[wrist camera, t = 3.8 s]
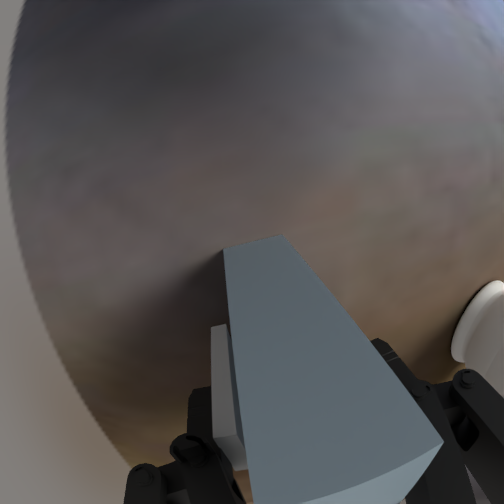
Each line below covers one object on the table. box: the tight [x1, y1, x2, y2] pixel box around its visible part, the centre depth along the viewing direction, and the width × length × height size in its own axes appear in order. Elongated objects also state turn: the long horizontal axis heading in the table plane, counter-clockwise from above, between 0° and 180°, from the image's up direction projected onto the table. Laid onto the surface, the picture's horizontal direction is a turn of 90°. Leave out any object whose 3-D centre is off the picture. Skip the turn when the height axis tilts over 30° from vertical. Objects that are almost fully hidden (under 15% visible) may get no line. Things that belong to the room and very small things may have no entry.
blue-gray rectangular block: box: [223, 235, 444, 504], centre depth 10 cm, size 9×3×12 cm, turn 12°
